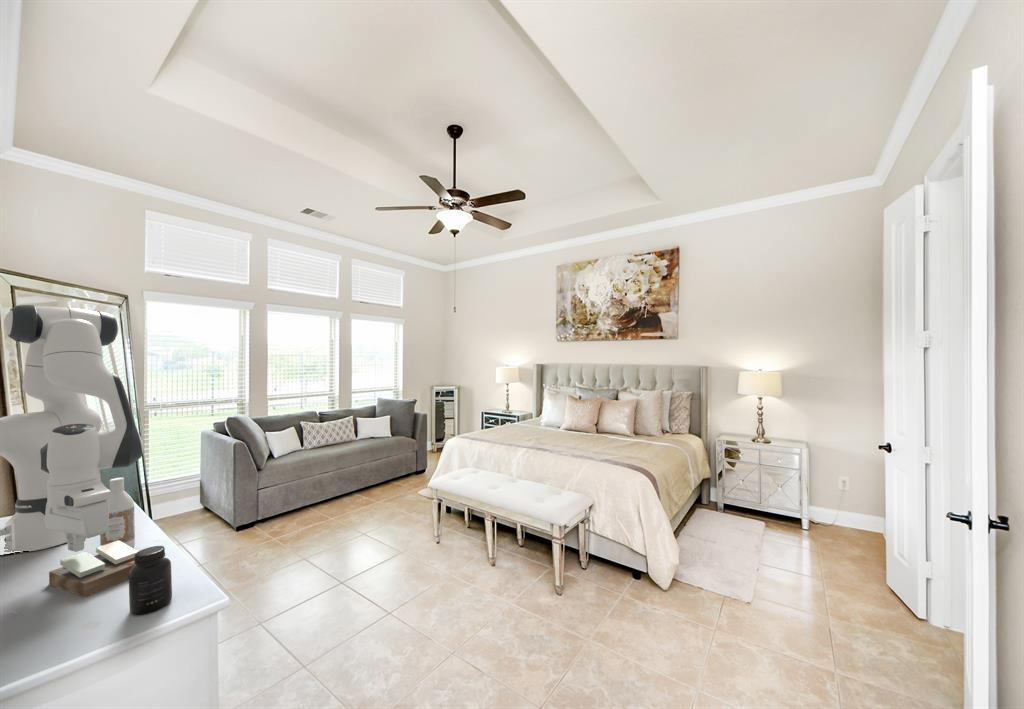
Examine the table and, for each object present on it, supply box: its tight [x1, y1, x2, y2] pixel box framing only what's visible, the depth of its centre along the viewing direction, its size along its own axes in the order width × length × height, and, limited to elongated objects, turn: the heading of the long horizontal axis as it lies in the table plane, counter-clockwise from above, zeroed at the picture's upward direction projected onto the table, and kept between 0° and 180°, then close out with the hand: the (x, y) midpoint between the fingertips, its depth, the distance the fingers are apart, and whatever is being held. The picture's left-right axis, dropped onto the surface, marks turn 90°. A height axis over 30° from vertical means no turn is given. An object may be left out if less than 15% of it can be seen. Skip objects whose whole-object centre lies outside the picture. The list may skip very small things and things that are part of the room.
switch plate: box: [48, 554, 135, 598], centre depth 100 cm, size 16×12×4 cm
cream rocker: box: [95, 540, 139, 564], centre depth 103 cm, size 9×4×1 cm, turn 68°
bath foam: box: [99, 477, 136, 548], centre depth 115 cm, size 7×7×20 cm
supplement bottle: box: [128, 545, 173, 617], centre depth 87 cm, size 7×7×12 cm
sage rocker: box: [59, 550, 105, 578], centre depth 97 cm, size 9×4×1 cm, turn 68°
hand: (76, 550), depth 98 cm, fingers closed
